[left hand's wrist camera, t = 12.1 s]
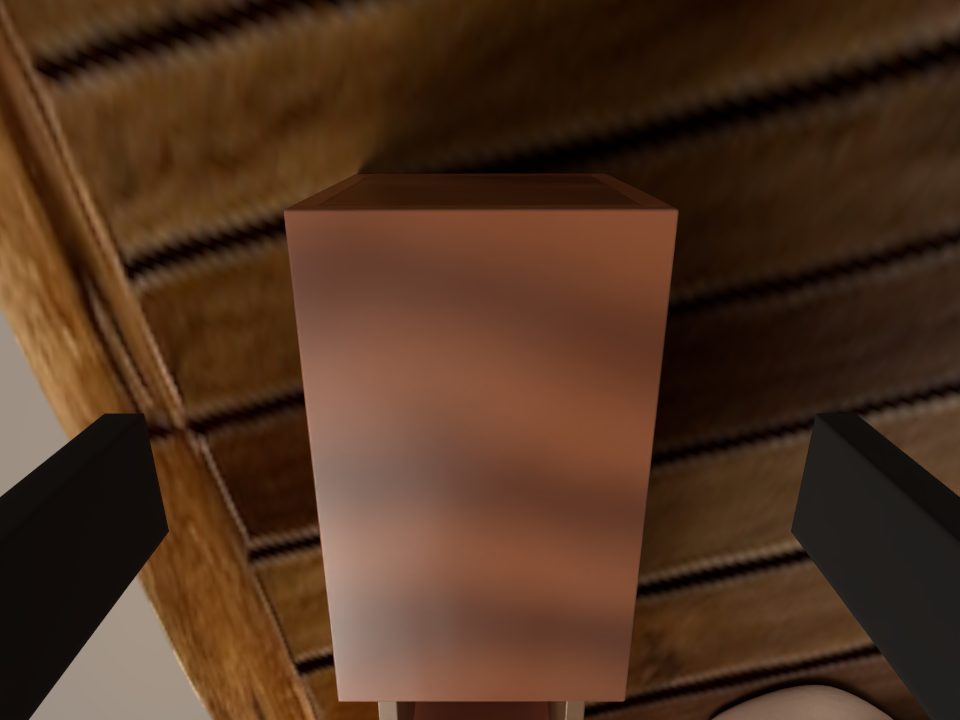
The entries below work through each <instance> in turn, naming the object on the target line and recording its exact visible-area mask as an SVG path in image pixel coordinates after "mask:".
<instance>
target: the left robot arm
mask: <svg viewBox="0 0 960 720" xmlns="http://www.w3.org/2000/svg"><path fill="white" fill-rule="evenodd" d="M168 532H169V529H168V525H167V520H166V515H165V511H164V506H163V501H162V497H161V492H160V487H159V482H158V478H157V473H156V468H155V464H154V459H153V454H152V449H151V445H150V440H149V435H148V431H147V426H146V421H145V416H144V414H104V415H102V416H101V417H100V418H99V419H97V420H96V421H95V422H94V423H92V424H91V425H90V426H89V427H87V428H86V429H85V430H84V431H82V432H81V433H80V434H79V435H77V436H76V437H75V438H74V439H72V440H71V441H70V442H69V443H67V444H66V445H65V446H64V447H62V448H61V449H60V450H59V451H57V452H56V453H55V454H54V455H52V456H51V457H50V458H49V459H47V460H46V461H45V462H44V463H42V464H41V465H40V466H39V467H37V468H36V469H35V470H34V471H32V472H31V473H30V474H29V475H27V476H26V477H25V478H24V479H22V480H21V481H20V482H19V483H17V484H16V485H15V486H14V487H12V488H11V489H10V490H9V491H7V492H6V493H5V494H4V495H2V496H1V497H0V720H29V719H30V717H31V716H32V715H33V713H34V712H35V711H36V709H37V708H38V707H39V705H40V704H41V703H42V701H43V700H44V699H45V697H46V696H47V695H48V693H49V692H50V691H51V689H52V688H53V687H54V685H55V684H56V682H57V681H58V680H59V678H60V677H61V676H62V674H63V673H64V672H65V670H66V669H67V668H68V666H69V665H70V664H71V662H72V661H73V660H74V658H75V657H76V656H77V654H78V653H79V652H80V650H81V649H82V648H83V646H84V645H85V644H86V642H87V641H88V640H89V638H90V637H91V635H92V634H93V633H94V631H95V630H96V629H97V627H98V626H99V625H100V623H101V622H102V621H103V619H104V618H105V617H106V615H107V614H108V613H109V611H110V610H111V609H112V607H113V606H114V605H115V603H116V602H117V600H118V599H119V598H120V597H121V595H122V594H123V592H124V591H125V590H126V588H127V587H128V586H129V584H130V583H131V582H132V580H133V579H134V578H135V576H136V575H137V574H138V572H139V571H140V570H141V568H142V567H143V566H144V564H145V563H146V562H147V560H148V559H149V558H150V556H151V555H152V554H153V552H154V551H155V549H156V548H157V547H158V545H159V544H160V543H161V541H162V540H163V539H164V537H165V536H166V535H167V533H168ZM791 532H792V533H793V535H794V536H795V537H796V539H797V540H798V541H799V543H800V544H801V545H802V547H803V548H804V549H805V551H806V552H807V554H808V555H809V556H810V558H811V559H812V560H813V562H814V563H815V564H816V566H817V567H818V568H819V570H820V571H821V572H822V574H823V575H824V576H825V578H826V579H827V580H828V582H829V583H830V584H831V586H832V587H833V588H834V590H835V591H836V592H837V594H838V595H839V597H840V598H841V599H842V601H843V602H844V603H845V605H846V606H847V607H848V609H849V610H850V611H851V613H852V614H853V615H854V617H855V618H856V619H857V621H858V622H859V623H860V625H861V626H862V627H863V629H864V630H865V631H866V633H867V634H868V635H869V637H870V638H871V640H872V641H873V642H874V644H875V645H876V646H877V648H878V649H879V650H880V652H881V653H882V654H883V656H884V657H885V658H886V660H887V661H888V662H889V664H890V665H891V666H892V668H893V669H894V670H895V672H896V673H897V674H898V676H899V677H900V678H901V680H902V681H903V682H904V684H905V685H906V687H907V688H908V689H909V691H910V692H911V693H912V695H913V696H914V697H915V699H916V700H917V701H918V703H919V704H920V705H921V707H922V708H923V709H924V711H925V712H926V713H927V715H928V716H929V717H930V719H931V720H960V497H959V496H958V495H956V494H955V493H954V492H953V491H951V490H950V489H949V488H948V487H946V486H945V485H944V484H943V483H941V482H940V481H939V480H938V479H936V478H935V477H934V476H933V475H931V474H930V473H929V472H928V471H926V470H925V469H924V468H923V467H921V466H920V465H919V464H918V463H916V462H915V461H914V460H913V459H911V458H910V457H909V456H908V455H906V454H905V453H904V452H903V451H901V450H900V449H899V448H898V447H896V446H895V445H894V444H893V443H891V442H890V441H889V440H888V439H886V438H885V437H884V436H883V435H881V434H880V433H879V432H878V431H876V430H875V429H874V428H873V427H871V426H870V425H869V424H868V423H866V422H865V421H864V420H863V419H861V418H860V417H859V416H858V415H856V414H816V416H815V421H814V426H813V431H812V435H811V440H810V445H809V449H808V454H807V459H806V464H805V468H804V473H803V478H802V482H801V487H800V492H799V496H798V501H797V506H796V511H795V515H794V520H793V525H792V529H791Z"/></svg>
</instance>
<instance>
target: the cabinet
mask: <svg viewBox="0 0 960 720" xmlns="http://www.w3.org/2000/svg"><path fill="white" fill-rule="evenodd" d="M678 214H679V211H678V209H676V208H674V207H672V206H671V205H669V204H667V203H665V202H663V201H661V200H659V199H657V198H655V197H653V196H651V195H649V194H646V193H644V192H642V191H640V190H638V189H636V188H634V187H632V186H630V185H628V184H626V183H624V182H622V181H620V180H618V179H616V178H614V177H612V176H609V175H607V174H605V173H602V174H355V175H353V176H351V177H349V178H347V179H345V180H343V181H341V182H339V183H337V184H335V185H333V186H331V187H329V188H327V189H325V190H323V191H321V192H319V193H317V194H315V195H313V196H311V197H309V198H307V199H305V200H303V201H301V202H299V203H297V204H295V205H293V206H292V207H289V208H287V209H285V210H284V217H285V226H286V235H287V244H288V253H289V262H290V271H291V280H292V289H293V298H294V307H295V316H296V325H297V334H298V343H299V352H300V361H301V370H302V379H303V388H304V397H305V406H306V415H307V424H308V433H309V441H310V450H311V459H312V468H313V477H314V486H315V495H316V504H317V513H318V522H319V531H320V540H321V549H322V558H323V567H324V576H325V585H326V594H327V603H328V612H329V621H330V630H331V639H332V648H333V657H334V665H335V674H336V683H337V692H338V700H339V701H624V700H625V694H626V685H627V676H628V667H629V658H630V649H631V640H632V630H633V621H634V612H635V603H636V594H637V585H638V576H639V567H640V558H641V549H642V540H643V531H644V522H645V513H646V504H647V495H648V485H649V476H650V467H651V458H652V449H653V440H654V431H655V422H656V413H657V404H658V395H659V386H660V377H661V368H662V359H663V349H664V340H665V331H666V322H667V313H668V304H669V295H670V286H671V277H672V268H673V259H674V250H675V241H676V232H677V223H678Z"/></svg>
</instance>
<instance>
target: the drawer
mask: <svg viewBox="0 0 960 720" xmlns="http://www.w3.org/2000/svg"><path fill="white" fill-rule="evenodd" d="M378 708H379V720H584V708H585V701H378Z"/></svg>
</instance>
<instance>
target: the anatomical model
mask: <svg viewBox="0 0 960 720" xmlns="http://www.w3.org/2000/svg"><path fill="white" fill-rule="evenodd" d="M712 720H893V719H892V718H891V717H889V716H888V715H886V714H885V713H884V712H882V711H881V710H879V709H877V708H876V707H874V706H873V705H871V704H869V703H868V702H866V701H864V700H862V699H860V698H859V697H857V696H855V695H852V694H850V693H848V692H846V691H843V690H840V689H837V688H834V687H830V686H823V685H802V686H795V687H790V688H785V689H781V690H777V691H774V692H770V693H767V694H764V695H761V696H758V697H756V698H753V699H750V700H748V701H745V702H743V703H740V704H738V705H736V706H733V707H731V708H729V709H727V710H725V711H723V712H721V713H720V714H718V715H717V716H716V717H714V718H713V719H712Z"/></svg>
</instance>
